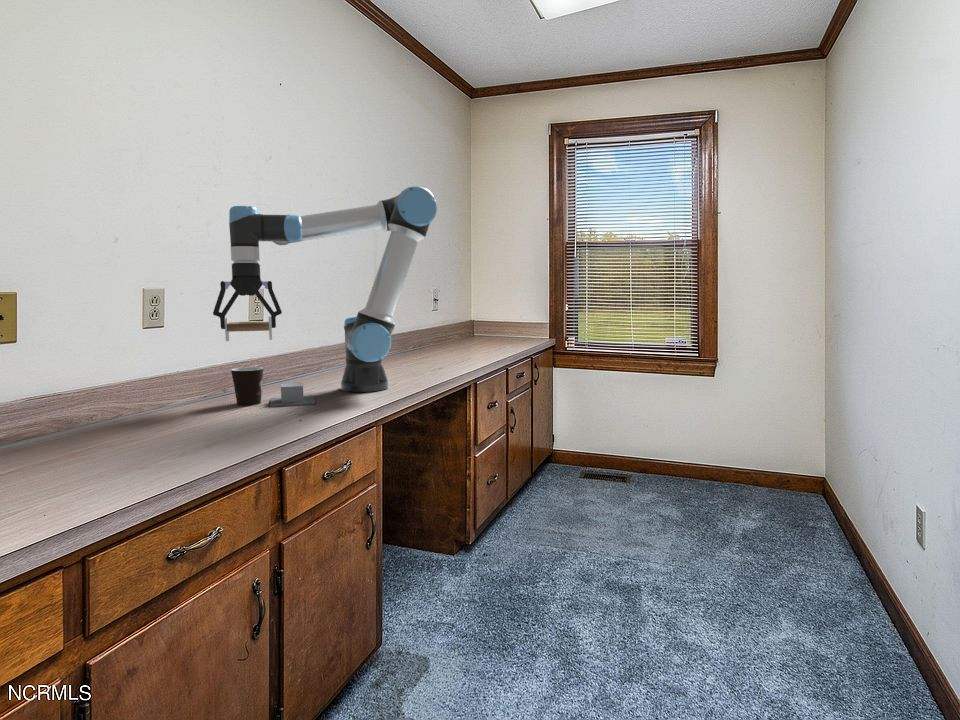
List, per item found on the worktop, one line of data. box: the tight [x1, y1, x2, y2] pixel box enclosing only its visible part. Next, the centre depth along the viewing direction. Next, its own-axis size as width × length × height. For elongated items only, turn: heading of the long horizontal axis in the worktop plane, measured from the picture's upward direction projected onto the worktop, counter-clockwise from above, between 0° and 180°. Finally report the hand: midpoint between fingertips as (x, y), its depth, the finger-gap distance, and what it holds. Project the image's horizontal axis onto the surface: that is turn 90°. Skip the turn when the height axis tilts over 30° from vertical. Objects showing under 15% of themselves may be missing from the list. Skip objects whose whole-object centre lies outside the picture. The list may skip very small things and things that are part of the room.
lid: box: [227, 320, 269, 333], centre depth 183 cm, size 11×11×2 cm
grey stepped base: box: [269, 382, 316, 408], centre depth 185 cm, size 12×12×5 cm
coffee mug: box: [230, 366, 264, 407], centre depth 185 cm, size 12×9×10 cm
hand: (249, 340), depth 184 cm, fingers closed on lid, 11 cm apart
